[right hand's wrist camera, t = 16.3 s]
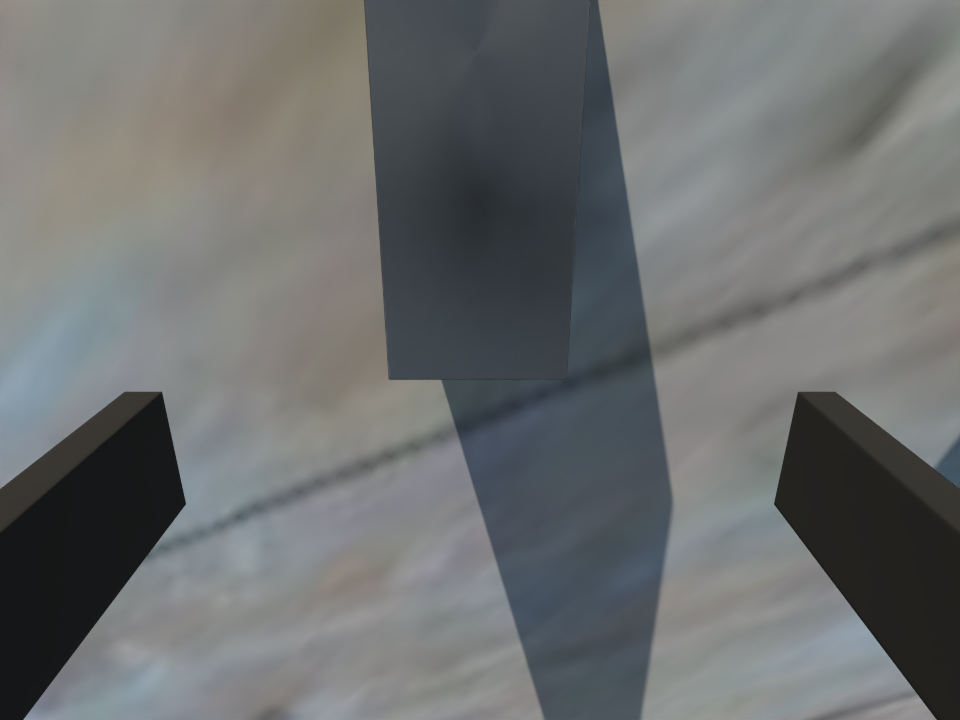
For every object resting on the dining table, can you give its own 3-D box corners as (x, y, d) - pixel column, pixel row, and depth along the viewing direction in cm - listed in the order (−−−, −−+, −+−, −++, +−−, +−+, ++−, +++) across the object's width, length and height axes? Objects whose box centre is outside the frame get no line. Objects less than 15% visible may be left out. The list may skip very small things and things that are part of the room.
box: (540, 295, 32) (566, 380, 22) (415, 295, 32) (388, 380, 22) (561, -242, 24) (619, -476, 14) (392, -243, 24) (332, -477, 14)
